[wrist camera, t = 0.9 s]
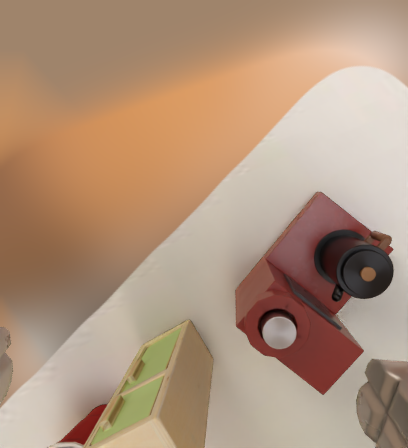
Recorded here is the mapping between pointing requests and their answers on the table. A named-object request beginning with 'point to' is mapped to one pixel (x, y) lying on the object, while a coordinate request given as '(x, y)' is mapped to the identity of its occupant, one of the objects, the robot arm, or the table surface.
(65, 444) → the plastic cup
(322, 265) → the kettle
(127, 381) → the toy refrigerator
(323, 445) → the table surface
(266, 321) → the power button
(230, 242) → the table surface
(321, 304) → the warming base
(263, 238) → the table surface
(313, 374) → the coffee maker
